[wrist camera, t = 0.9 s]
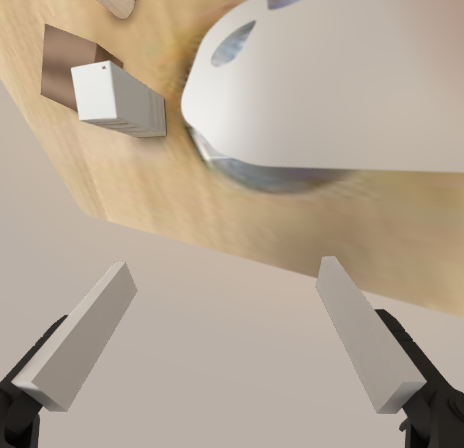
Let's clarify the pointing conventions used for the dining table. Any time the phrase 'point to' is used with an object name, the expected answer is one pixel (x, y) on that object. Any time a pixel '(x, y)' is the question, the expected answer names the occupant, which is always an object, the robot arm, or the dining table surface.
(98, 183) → the dining table surface
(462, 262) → the dining table surface
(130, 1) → the white cylinder
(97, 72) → the supplement box
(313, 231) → the dining table surface
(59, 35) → the walnut block
